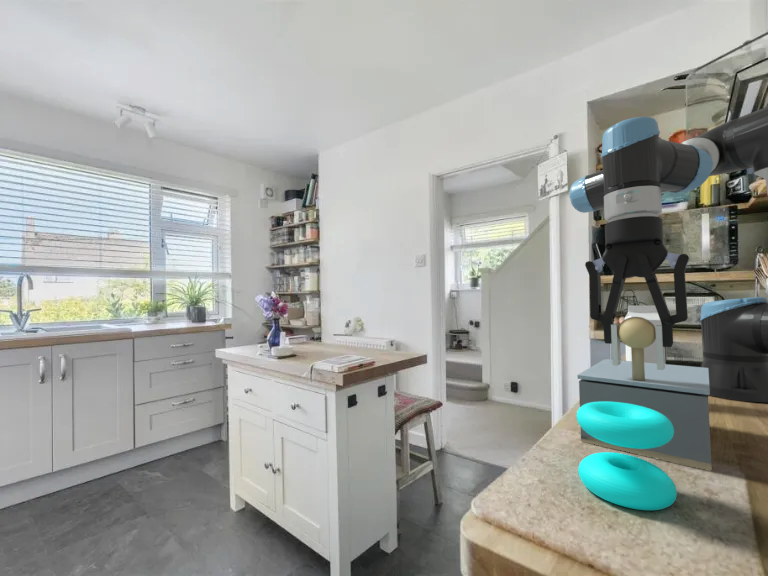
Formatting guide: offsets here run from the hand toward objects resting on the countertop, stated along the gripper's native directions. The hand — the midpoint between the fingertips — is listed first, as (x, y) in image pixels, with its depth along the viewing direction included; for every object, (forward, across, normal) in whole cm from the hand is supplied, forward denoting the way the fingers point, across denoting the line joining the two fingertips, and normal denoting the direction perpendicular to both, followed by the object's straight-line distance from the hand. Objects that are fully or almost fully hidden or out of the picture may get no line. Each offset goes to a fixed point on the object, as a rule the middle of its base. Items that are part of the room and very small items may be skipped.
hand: (638, 365), depth 56 cm
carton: (+13, 0, +9) cm, 16 cm away
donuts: (+13, 0, -16) cm, 21 cm away
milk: (+13, -3, +34) cm, 37 cm away
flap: (+3, 0, +9) cm, 9 cm away
